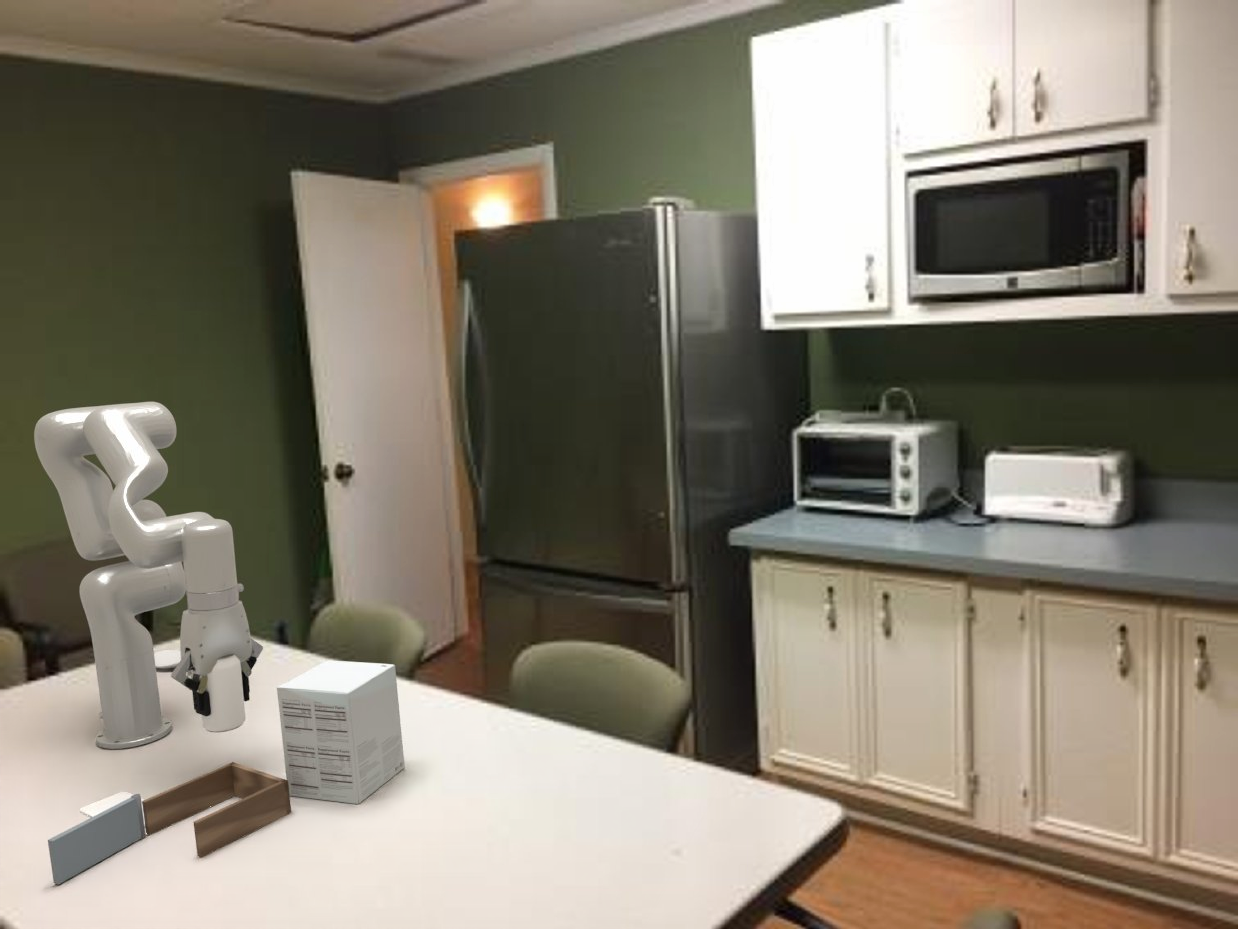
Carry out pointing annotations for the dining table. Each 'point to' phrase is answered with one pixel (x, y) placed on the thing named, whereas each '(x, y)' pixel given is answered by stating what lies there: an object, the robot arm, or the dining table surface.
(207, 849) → the bin
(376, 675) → the supplement box
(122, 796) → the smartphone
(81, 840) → the bin gate
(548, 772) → the dining table surface
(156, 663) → the spoon
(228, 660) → the can
